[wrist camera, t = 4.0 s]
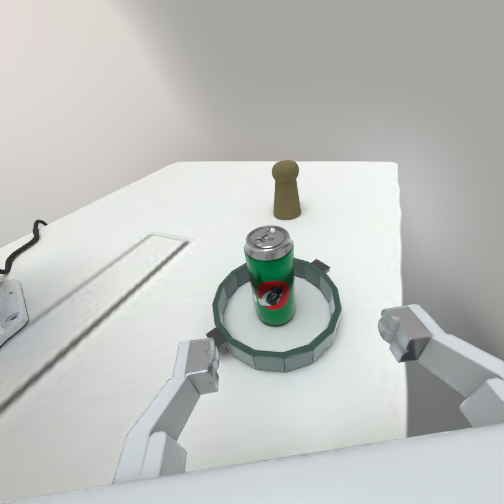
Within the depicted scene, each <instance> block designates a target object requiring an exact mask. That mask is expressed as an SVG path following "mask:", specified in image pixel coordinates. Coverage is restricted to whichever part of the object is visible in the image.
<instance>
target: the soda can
mask: <svg viewBox="0 0 504 504" xmlns="http://www.w3.org/2000/svg"><path fill="white" fill-rule="evenodd" d="M244 253H245V258H246V262H247V267H248V272H249V277H250V282H251V287H252V292H253V297H254V302H255V307H256V312H257V315H258V317H259V318H260V319H261V320H262V321H263V322H265V323H267V324H271V325H280V324H283V323H286V322H287V321H289V320H290V319H291V318H292V316H293V315H294V312H295V288H294V245H293V241H292V240H291V238H290V237H289V233H288V232H287V231H286V230H285V229H284V228H282V227H279V226H262V227H259V228H256V229H254V230H252V231H251V232H250V233H249V234H248V235H247V237H246V243H245V246H244Z"/></svg>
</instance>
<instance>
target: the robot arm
mask: <svg viewBox="0 0 504 504" xmlns="http://www.w3.org/2000/svg"><path fill="white" fill-rule="evenodd" d="M39 223H42V224H43V225H44V226H46V225H48V224H47V223H46V222H44V221H42V220H36V221H35V223H34V228H33V234H34V238H33V239H32V240H31V241H29V242H28V243H27V244H25V245H24V246H22V247H20V248H19V249H17V250H16V251H14V252H13V253H12V254H11V255H10V256H9V257H8V258H7V260H6V263H5V269H4V270H1V269H0V274H6V273H8V272H9V271H10V269H11V262H12V259H13V258H14V257H15V256H16V255H18V254H19V253H20V252H22V251H23V250H25V249H26V248H28V247H29V246H31V245H32V244H33V243H35V242H36V241H37V239H38V238H39V235H38V233H37V230H38V224H39ZM381 315H382V318H381V319H380V320H379V321H378V330H379V332H380V335H381V336H382V338H383V340H385V341H386V342H388V343H389V344H390V348H389V349H390V350H391V352H392V354H393V355H394V357H395V358H396V360H397V361H398V363H399V362H406V361H414V360H418V362H419V363H421V364H422V365H423V366H425V367H426V368H427V369H429V370H430V371H431V372H433V373H434V374H435V375H437V376H438V377H439V378H441V379H442V380H443V381H445V382H446V383H447V384H449V385H450V386H451V387H453V388H454V389H455V390H457V391H458V392H459V393H461V394H462V395H464V396H465V397H466V398H467V399H466V400H465V401H464V402H463V403H462V404H461V405H460V410H461V411H462V413H463V414H464V416H465V417H466V418H467V420H468V421H469V422H470V424H471V425H472V426H473V428H467V429H460V430H454V431H447V432H441V433H435V434H428V435H423V436H416V437H410V438H403V439H397V440H390V441H384V442H378V443H371V444H365V445H359V446H352V447H346V448H339V449H333V450H327V451H320V452H314V453H308V454H301V455H295V456H289V457H282V458H276V459H270V460H263V461H257V462H251V463H244V464H238V465H231V466H225V467H219V468H212V469H206V470H200V471H193V472H187V473H185V464H186V454H187V452H186V450H185V449H184V448H183V447H182V446H181V445H180V444H179V443H177V442H176V441H177V439H178V437H179V435H180V433H181V431H182V430H183V428H184V426H185V424H186V422H187V420H188V418H189V416H190V414H191V413H192V411H193V409H194V407H195V405H196V403H197V401H198V399H199V397H200V395H202V394H207V393H212V392H218V380H219V376H218V374H217V371H216V370H217V369H218V367H219V353H218V349H217V347H216V346H214V340H213V338H205V339H199V340H191V341H185V342H180V344H179V346H178V351H177V356H176V361H175V366H174V370H173V375H172V379H168V381H167V382H166V383H165V385H164V386H163V387H162V389H161V390H160V391H159V393H158V394H157V395H156V397H155V398H154V400H153V401H152V402H151V404H150V405H149V406H148V408H147V409H146V410H145V412H144V413H143V414H142V416H141V417H140V418H139V420H138V421H137V422H136V424H135V425H134V426H133V428H132V429H131V430H130V432H129V433H128V434H127V436H126V439H125V443H124V446H123V449H122V452H121V456H120V459H119V462H118V465H117V469H116V472H115V475H114V479H113V482H112V484H111V485H104V486H98V487H92V488H85V489H79V490H73V491H66V492H60V493H54V494H47V495H41V496H34V497H28V498H21V499H16V500H11V501H9V502H6V503H4V504H504V361H502V360H500V359H498V358H496V357H494V356H492V355H490V354H488V353H486V352H484V351H482V350H480V349H478V348H476V347H474V346H473V345H471V344H469V343H467V342H465V341H463V340H461V339H459V338H457V337H455V336H453V335H451V334H446V333H445V332H444V331H443V330H442V329H441V328H440V327H439V326H438V325H437V323H436V322H435V321H434V320H433V319H432V318H431V317H430V316H429V315H428V314H427V313H426V312H425V311H424V310H423V308H422V307H420V306H419V305H417V304H413V305H407V306H400V307H394V308H389V309H384V310H382V312H381ZM27 321H28V316H27V312H26V308H25V303H24V299H23V294H22V290H21V286H20V283H19V282H18V281H16V280H8V281H4V282H0V346H1V345H2V344H3V343H4V342H5V341H6V340H7V339H8V338H9V337H11V336H12V335H13V334H15V333H16V332H17V331H18V330H20V329H21V328H22V327H23V326H24V325H25V324H26V323H27Z"/></svg>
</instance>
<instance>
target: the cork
mask: <svg viewBox="0 0 504 504" xmlns="http://www.w3.org/2000/svg"><path fill="white" fill-rule="evenodd" d="M298 173H299V167H298V165H297V163H296V162H294V161H290V160H287V161H280V162H278V163H276V164H275V165H274V166H273V168H272V175H273V178H274V179H275V198H274V216H275V217H276V218H278V219H281V220H290V219H294V218H297V217H298V216H299V215H300V214H301V209H300V202H299V196H298V189H297V182H296V178H297V176H298Z"/></svg>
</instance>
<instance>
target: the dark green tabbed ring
mask: <svg viewBox="0 0 504 504" xmlns="http://www.w3.org/2000/svg"><path fill="white" fill-rule="evenodd" d="M329 270H330V267H329V266H327V265H326V264H324V263H322V262H321V261H319V260H317V259H316V260H314V261H313V262H311V263H310V262H307V261H304V260H300V259H296V258H294V275H295V276H298V277H301V278H305V279H306V280H308V281H309V282H310V283H312V284H313V285H315V286H316V287H318V288H319V289H320V290H321V291H322V293H323V294H324V296H325V297H326V299H327V300H328V302H329V303H330V308H331V315H332V317H331V320H330V322H329V325H328V328H327V329H326V330H324V331H323V332H322V333H321V334H320V335H319V336H318V337H316V338H315V339H314V340H313V341H312V342H311V343H310V344H308V345H305V346H302V347H299V348H295V349H292V350H289V351H286V352H271V351H259V350H254V349H252V348H250V347H248V346H246V345H244V344H242V343H241V342H239V341H237V340H235V339H233V338H232V336H231V335H230V334H229V332H228V331H227V330H226V328H225V327H224V321H223V314H224V311H225V307H226V304H227V301H228V299H229V298H230V297H231V296H232V294H233V293H234V292H235V291H236V289H237V288H238V287H239V286H241V285H243V284H244V283H246V282H247V281H249V280H250V277H249V272H248V267H247V263H245V264H243V265H242V266H240V267H238V268H236V269H235V270H233V271H232V272H231V273H230V274H229V275H228V276H227V277H226V278H225V279H224V280H223V282H222V283H221V284H220V285H219V287H218V290H217V292H216V295H215V298H214V301H213V304H212V305H213V314H214V322H215V326H216V328H214V329H213V330H211V331H210V332H208V333H207V334H206V336H207V338H213V340H214V346H216V347H217V349H218V353H219V352H220V351H222V350H223V349H224V348H226V347H227V348H228V349H229V351H230V352H231V354H232V355H233V356H234V357H235V358H237V359H239V360H240V361H242V362H244V363H246V364H247V365H249V366H251V367H253V368H254V369H257V370H266V371H275V372H288V371H291V370H294V369H297V368H301V367H304V366H307V365H310V364H312V363H314V362H315V361H316V360H317V359H318V358H319V357H320V356H321V355H322V354H323V353H324V352H325V351H327V350H328V349H329V348H330V347H331V345H332V343H333V340H334V337H335V334H336V331H337V328H338V325H339V320H340V315H341V304H340V299H339V293H338V289H337V287H336V286H335V285H334V283H333V282H332V281H331V279H330V278H329V277H328V275H327V274H326V273H327V272H329Z"/></svg>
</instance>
